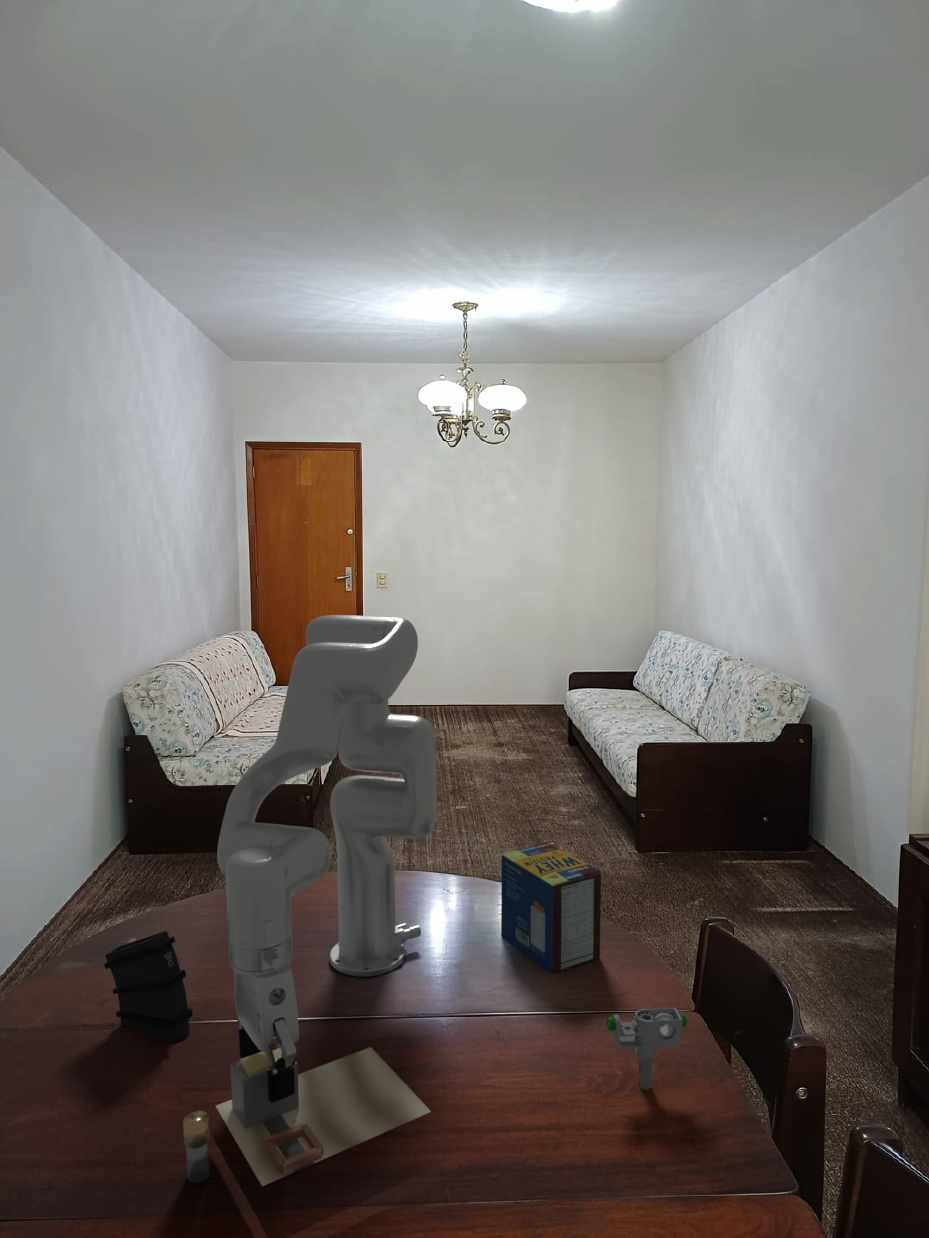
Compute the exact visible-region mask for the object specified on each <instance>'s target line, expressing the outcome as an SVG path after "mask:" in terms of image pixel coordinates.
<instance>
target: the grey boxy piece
mask: <svg viewBox="0 0 929 1238" xmlns="http://www.w3.org/2000/svg"><path fill="white" fill-rule="evenodd" d="M281 1054H282V1051H281V1048H279V1049H277V1050H274V1051H273V1055H274V1058H275V1062H276V1061H277V1060H278V1059H279V1058H282V1056H281ZM298 1067H299V1063H298V1061H297V1060H296V1061H295V1067H294V1083H295V1092H294V1094H293V1095H291V1096H289V1097H286V1098H284V1099H281V1100H279V1101H276V1102H274V1103H270V1101H269V1100H268V1083H267V1071H269V1070H270V1068H269V1064H268V1060H267V1056H266V1053H265V1052H259V1053H256V1054H253V1055H251V1056H248V1057H245V1058H242V1059H241V1058H240V1059H239V1060H236V1061H234V1062H232V1063H230V1081H231V1082H230V1084H231V1085H230V1086H231V1087H230V1088H231V1100H232V1109H233V1110H234V1112H235V1114H236V1115H237V1117H238V1119H239V1120H240V1122H241V1124H242V1125H243V1127H244V1129H246V1128H249V1127H251V1126H254V1125H256V1124H259V1123H261V1122H264V1121H266V1120H269V1119H271V1118H274V1117H276V1116H279V1115H281V1114H284V1113H286V1112H289V1111H291V1110H294V1109H297V1108H299V1094H298V1074H299V1068H298Z"/></svg>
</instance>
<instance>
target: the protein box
mask: <svg viewBox="0 0 929 1238" xmlns="http://www.w3.org/2000/svg"><path fill="white" fill-rule="evenodd" d="M500 885H501V890H500V891H501V893H500V895H501V896H500V897H501V898H500V899H501V906H500V907H501V909H500V911H501V913H500V915H501V919H500V922H501V924H500V925H501V926H500V927H501V928H500V930H501V931H500V936H501V938H503V939H504V940H505V941H507V942H508V943H510V944H511V945H512V946H514V947H515V948H516V949H518V950H519V951H520V952H522V953H523V954H524V955H526V956H527V957H528V958H529V959H531V960H532V961H533V962H535V963H536V964H537V965H538V966H540V967H541V968H542V969H544V970H545V971H546V972H548V973H549V974H551V975H552V974H553V975H554V974H556V973H559V972H562V971H565V970H568V969H572V968H574V967H577V966H579V965H583V964H586V963H589V962H592V961H595V960H598V959H600V958H601V917H602V916H601V913H602V912H601V909H602V908H601V907H602V906H601V903H602V871H601V870H599V869H598V868H596V867H594V866H592V865H590V864H588V863H586V862H585V861H583V860H581V859H579V858H578V857H575V856H573V855H571V854H569V853H568V852H566V851H564V850H562V849H560V848H558V847H557V846H555V845H553V844H551V843H549V842H546V843H543V844H536V845H534V846H529V847H526V848H521V849H518V850H516V849H515V850H513V851H509V852H505V853H501V884H500Z"/></svg>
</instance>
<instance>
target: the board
mask: <svg viewBox="0 0 929 1238" xmlns="http://www.w3.org/2000/svg"><path fill="white" fill-rule="evenodd" d="M298 1094H299V1108H297V1109H294V1110H291V1111H289V1112H286V1113H284V1114H281V1115H279V1116H276V1117H274V1118H271V1119H269V1120H266V1121H264V1122H261V1123H259V1124H256V1125H254V1126H251V1127H249V1128H246V1129H244V1127H243V1125H242V1124H241V1122H240V1120H239V1119H238V1117H237V1115H236V1114H235V1112H234V1110H233V1109H232V1099H230V1100H229V1099H228V1100H227V1101H224V1102H222V1103H219V1104H216V1105H215V1108H216V1110H217V1111H218V1113H219V1115H220V1116H221V1118H222V1120H223V1121H224V1123H225V1125H226V1127H227V1128H228V1130H229V1132H230V1133H231V1135H232V1137H233V1138H234V1140H235V1142H236V1144H237V1146H238V1147H239V1150H240V1151H241V1153H242V1154H243V1156H244V1158H245V1160H246V1161H247V1162H248V1165H249V1166H250V1168H251V1169H252V1172H253V1173H254V1175H255V1177H256V1178H257V1180H258V1182H259V1184H260V1185H261V1187H264V1186H266V1185H269V1184H271V1183H274V1182H276V1181H277V1180H280V1179H283V1178H284V1177H287V1176H289V1175H291V1174H294V1173H295V1172H298V1171H301V1170H303V1169H306V1168H308V1167H310V1166H312V1165H314V1164H316V1163H319V1162H321V1161H323V1160H325V1159H328V1158H330V1157H332V1156H334V1155H337V1154H339V1153H341V1152H344V1151H346V1150H349V1149H350V1148H352V1147H355V1146H358V1145H359V1144H361V1143H364V1142H366V1141H368V1140H371V1139H373V1138H375V1137H377V1136H380V1135H382V1134H384V1133H386V1132H387V1133H388V1132H389V1131H391V1130H393V1129H396V1128H398V1127H400V1126H402V1125H405V1124H407V1123H409V1122H412V1121H414V1120H416V1119H419V1118H421V1117H423V1116H425V1115H427V1114H430V1113H432V1111H431V1110H430V1109H429V1107H428V1106H427V1105H426V1104H425V1103H424V1102H423V1101H422V1100H421V1099H420V1098H419V1097H418V1096H417V1094H415V1093H414V1091H413V1090H412V1089H411V1088H410V1087H409V1086H408V1084H406V1083H405V1081H403V1080H402V1079H401V1078H400V1077H399V1075H398V1074H397V1073H396V1072H395V1071H394V1069H392V1068H391V1067H390V1066H389V1065H388V1064H387V1062H386V1061H385V1060H384V1059H382V1057H381V1056H380V1055H379V1054H378V1053H377V1052H376V1051H375V1050H374V1049H373V1047H372V1046H369V1047H368V1048H364V1049H362V1050H360V1051H356V1052H353V1053H352V1054H349V1055H345V1056H343V1057H342V1058H338V1059H335V1060H332V1061H330V1062H328V1063H325V1064H322V1065H319V1066H316V1067H314V1068H312V1069H309V1070H306V1071H304V1072H301V1073H298Z"/></svg>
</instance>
